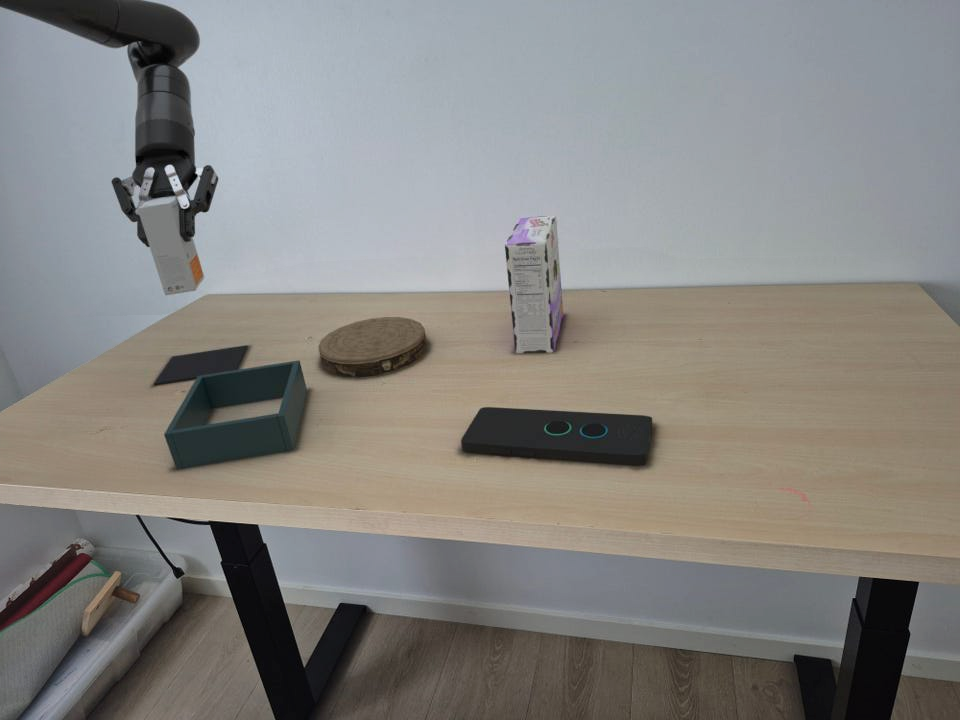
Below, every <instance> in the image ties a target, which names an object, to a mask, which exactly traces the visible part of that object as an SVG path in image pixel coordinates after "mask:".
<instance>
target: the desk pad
mask: <svg viewBox="0 0 960 720" xmlns="http://www.w3.org/2000/svg"><path fill="white" fill-rule="evenodd" d="M247 350H248V345H240V346H233V347H232V346H231V347H227V348H220V349H214V350H208V351H200V352H193V353H187V354H181V355H174V356H171V357H170V360H169V361H168V362H167V364H166V365H165V366H164V368H163V370H162V371H161V372H160V373H159V375H158V377H157V378H156V379H155V381H154V383H153V386H161V385H168V384H174V383H180V382H181V383H182V382H187V381H192V380H193V381H195V380H196V378H197V377H198V376H201V375H207V374H214V373H220V372H227V371H233V370H239V367H240V365H241V363H242V361H243V358H244V356H245V353H246V352H247Z"/></svg>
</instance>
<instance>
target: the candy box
mask: <svg viewBox="0 0 960 720" xmlns="http://www.w3.org/2000/svg"><path fill="white" fill-rule="evenodd" d="M557 223H558V222H557V216H556V215H542V216H532V217H530V216H529V217H528V216H527V217H519V218H518V220H517V222H516V223H515V226H514V227H513V229H512V231H511V233H510V234H509V237H508V238H507V240H506V241H505V244H504V251H505V260H506V272H507V283H508V291H509V302H510V310H511V311H510V312H511V322H512V331H513V332H512V333H513V342H514V353H515V354H543V353H544V354H548V353H551V354H552V353H554V352H555V350H556V347H557V342H558V340H559V339H558V338H559V335H560V332H561V331H560V330H561V327H562V322H563V318H564V305H563V303H564V302H563V291H562V278H561V264H560V263H561V262H560V249H559V237H558V225H557Z"/></svg>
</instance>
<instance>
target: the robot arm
mask: <svg viewBox="0 0 960 720" xmlns="http://www.w3.org/2000/svg"><path fill="white" fill-rule="evenodd" d="M0 8H2V9H5V10H8V11H11V12H13V13H17V14H20V15H22V16H26V17H29V18H32V19H34V20H37V21H40V22H43V23H45V24H48V25H51V26H53V27H55V28H58V29H61V30H63V31H65V32H67V33H70V34H73V35H75V36H77V37H80V38H83V39H85V40H88V41H90V42H93V43H95V44H98V45H100V46H103V47H106V48H110V49H114V50H116V49H121V48H125V47H126V46H127V48H126V49H127V50H126V51H127V52H126V53H127V54H126V55H127V58H128V62H129V64H130V67H131V70H132V74H133V76H134V79H135V82H136V84H137V86H136V87H137V88H136V89H137V96H136V97H137V102H136V104H137V105H136V111H135V117H134V127H135V128H134V129H135V130H134V139H135V140H134V159H135V160H134V161H135V168H134V170H133V171H132V173H131V176H129V177H127V178H124V179H121V178H120V177H118V176H117V177H113V178H112V179H111V186H112V187H113V190H114V193H115V197H116V199H117V201H118V204H119V206H120V210H121V211H122V213H123V214H124V215H125V216H126V218H128V219H129V221H130V222H132V223H136V226H137V227H136V231H137V232H136V234H137V238H138V240H140V242H141V243H142V244H144V245H145V247H147V248H150V246H149V243H148V240H147V237H146V234H145V231H144V228H143V225H142V222H141V218H140V215H139V212H138V208H139V207H141V206H142V205H143V203H145V202H147V201H149V200H151V199H154V198H161V197H168V196H176V197H177V199H178V202H179V204H180V206H181V210H180V211H179V225H180V236H181V237H182V239H183V240H184V241H185V242H189V241H191V237H193V238H194V237H195V235H196V216H197V214H199V213H208V212H209V211H210V208H211V205H212V201H213V199H214V196H215V193H216V192H215V191H216V188H217V186H218V182H219V176H218V174H217V173H216V171H215V169H214V167H213V166H212V165H210V164H207V165H204V166H203V167H197V166H196V153H195V152H196V149H195V136H196V131H195V126H194V125H195V124H194V118H193V113H192V92H191V91H192V90H191V83H190V81H189V78H188V76H187V75H186V74H185V72H183V70H181V69H180V67H181V66H182V65H183V64H185V63H186V62H187V61H188V60H190V59H191V58H192V57H193V56H195V54H196V53H197V51H198V50H199V48H200V45H201V37H200V33H199V30H198V29H197V27H196V25H195V24H194V22H193V21H192V20H191V19H190V18H189V17H188V16H187V15H186V14H184V13H183V12H181V11H180V10H178V9H176V8H174V7H172V6H169V5H166V4H163V3H160V2H154V1H150V0H149V1H148V0H0ZM197 180H198V184H197V187H196V190H195V194H194V197H193V199H192V198H191V195H190V192H189V190H190V188H191V187H192V186H193V184H194V183H195V182H196V181H197ZM137 186H138V188H140V189H139V192H138V202H137V206H136V205H135V202H134V200H133V197H134V196H135V188H136V187H137Z"/></svg>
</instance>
